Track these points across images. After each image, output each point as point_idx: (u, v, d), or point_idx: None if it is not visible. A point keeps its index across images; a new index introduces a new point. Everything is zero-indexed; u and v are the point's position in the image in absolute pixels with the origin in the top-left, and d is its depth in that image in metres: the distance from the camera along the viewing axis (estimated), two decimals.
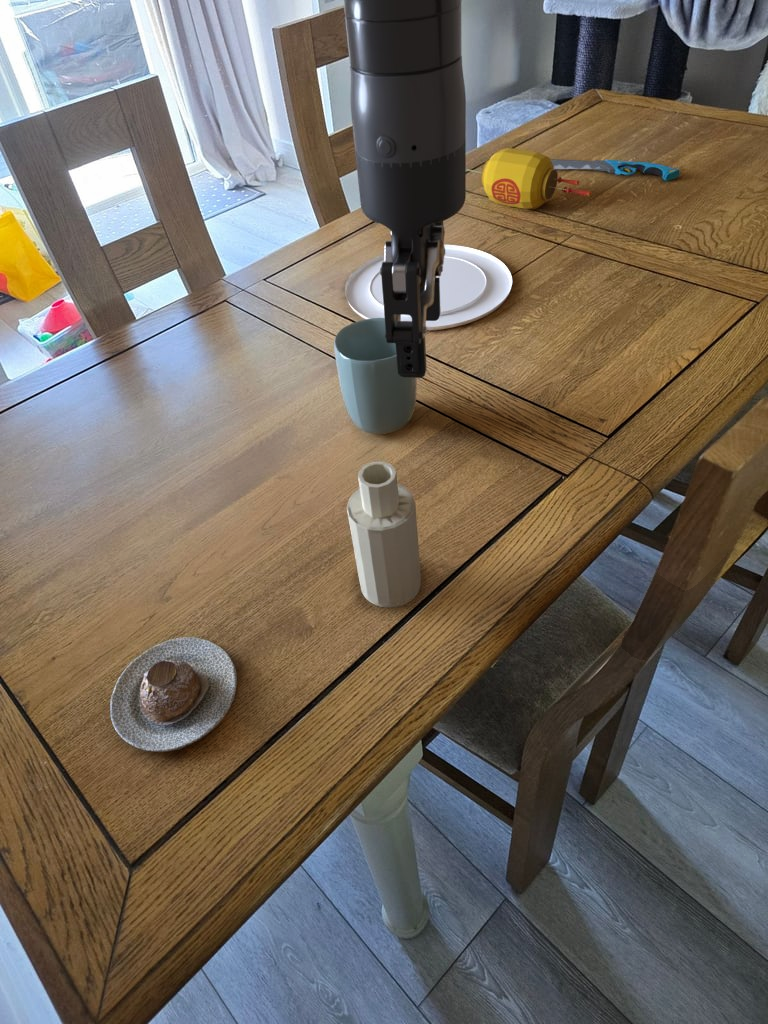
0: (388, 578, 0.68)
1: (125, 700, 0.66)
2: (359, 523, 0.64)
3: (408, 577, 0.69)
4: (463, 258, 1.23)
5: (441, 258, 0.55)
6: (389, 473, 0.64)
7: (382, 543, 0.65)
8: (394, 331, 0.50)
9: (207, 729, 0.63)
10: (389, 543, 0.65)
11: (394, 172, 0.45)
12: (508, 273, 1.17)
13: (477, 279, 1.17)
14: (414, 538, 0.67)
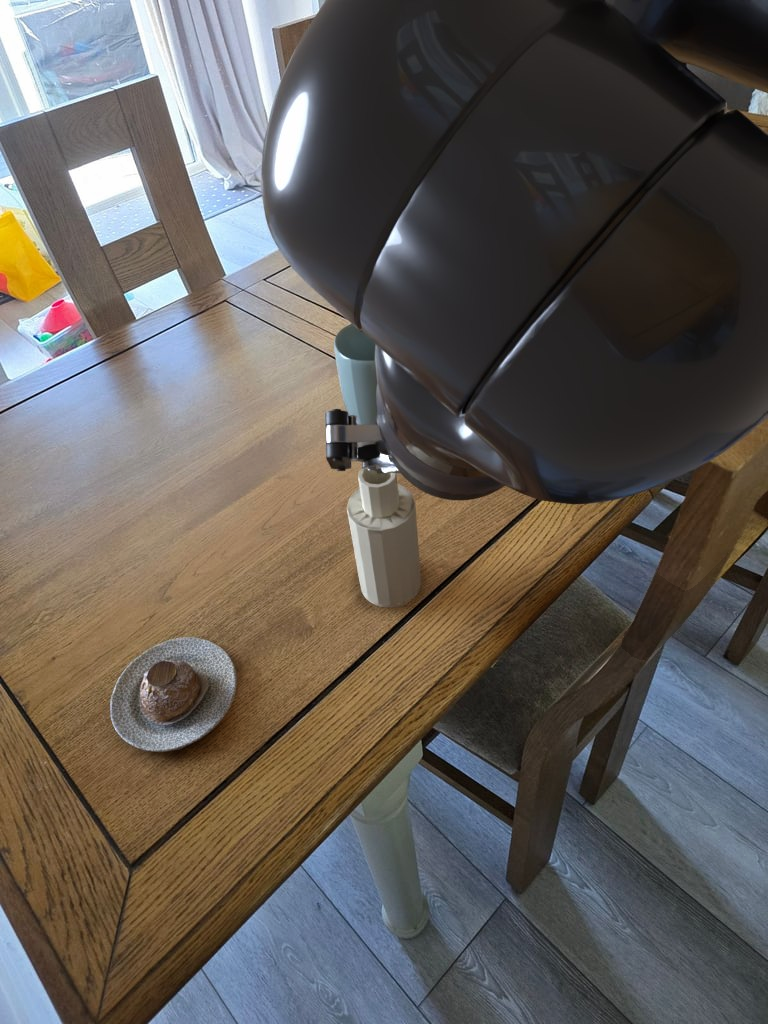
0: (388, 578, 0.68)
1: (125, 700, 0.66)
2: (359, 523, 0.64)
3: (408, 577, 0.69)
4: None
5: None
6: (389, 473, 0.64)
7: (382, 543, 0.65)
8: None
9: (207, 729, 0.63)
10: (389, 543, 0.65)
11: None
12: None
13: None
14: (414, 538, 0.67)
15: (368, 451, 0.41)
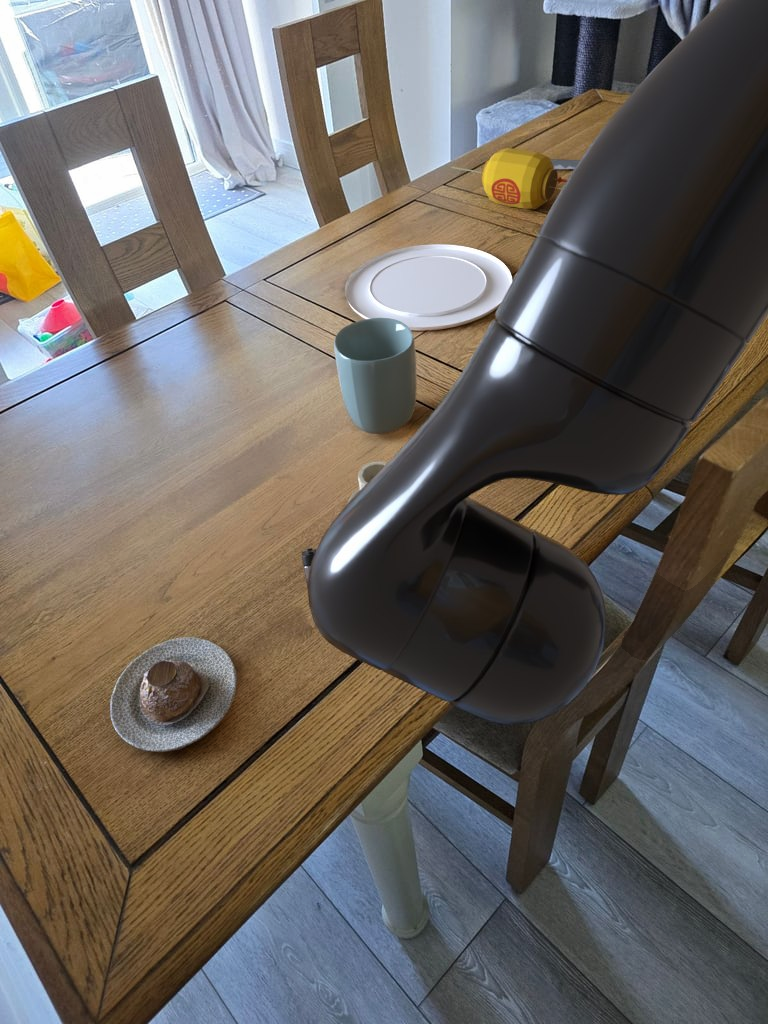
0: None
1: (125, 700, 0.66)
2: None
3: None
4: (463, 258, 1.23)
5: None
6: None
7: None
8: None
9: (207, 729, 0.63)
10: None
11: None
12: (508, 273, 1.17)
13: (477, 279, 1.16)
14: None
15: None
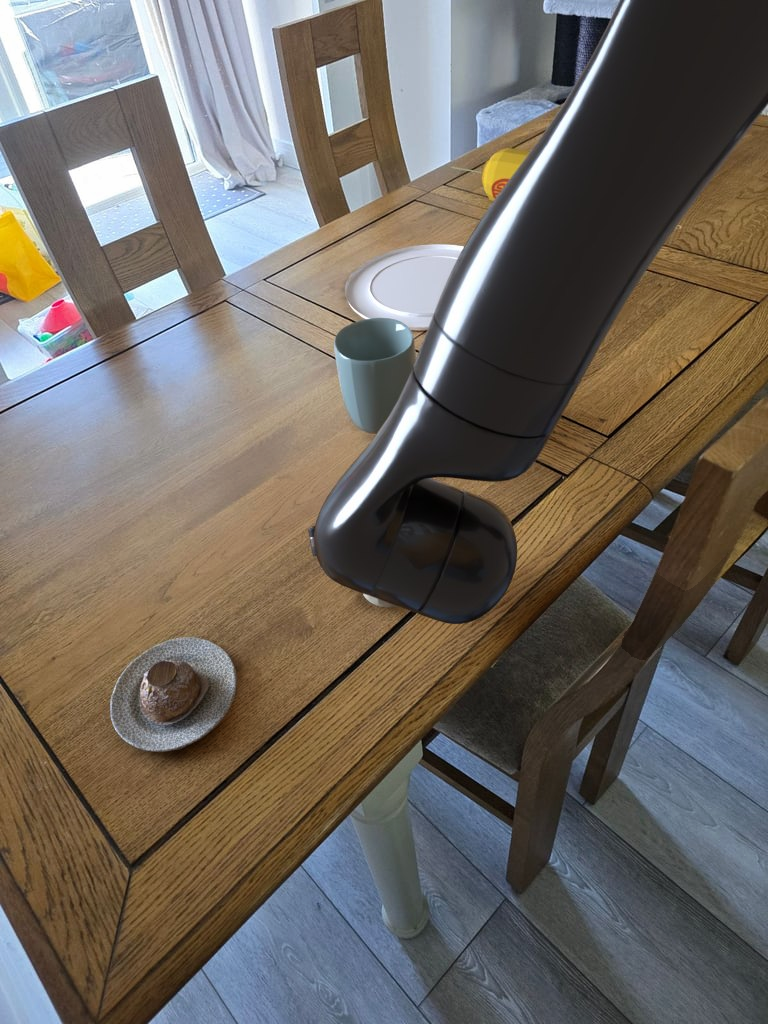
0: None
1: (125, 700, 0.66)
2: None
3: None
4: None
5: None
6: None
7: None
8: None
9: (207, 729, 0.63)
10: None
11: None
12: None
13: None
14: None
15: None
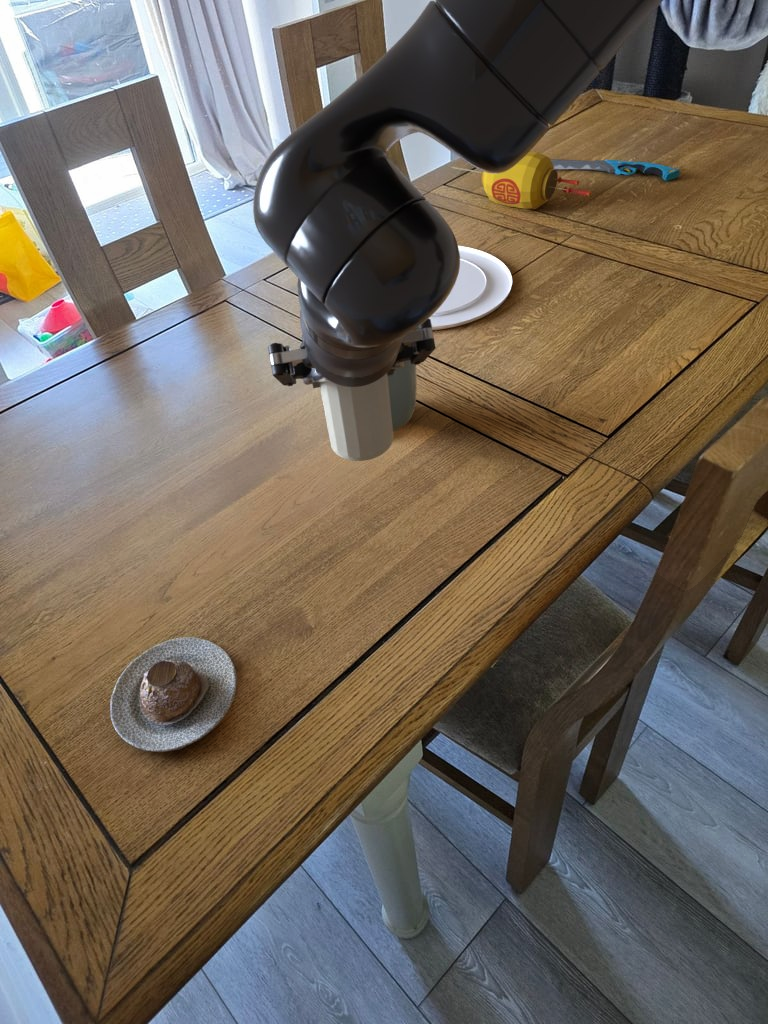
0: (357, 422, 0.65)
1: (125, 700, 0.66)
2: None
3: (378, 423, 0.67)
4: (463, 258, 1.23)
5: None
6: None
7: None
8: None
9: (207, 729, 0.63)
10: None
11: None
12: (508, 273, 1.17)
13: (477, 279, 1.17)
14: (383, 376, 0.64)
15: (305, 370, 0.62)
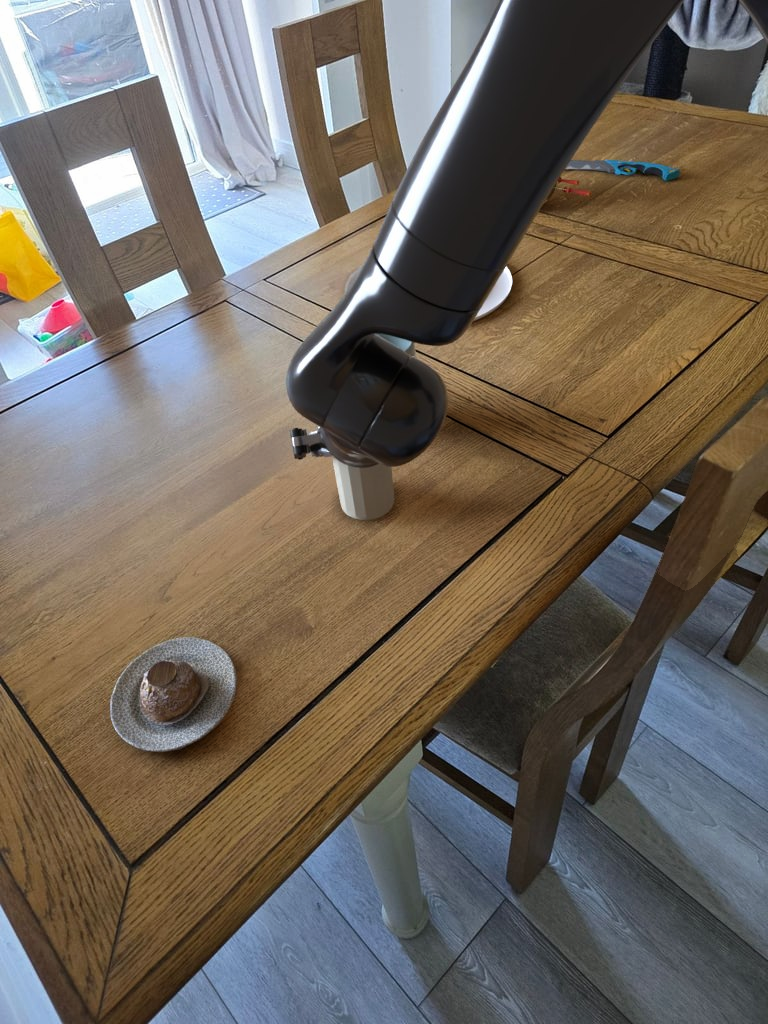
0: (363, 490, 0.77)
1: (125, 700, 0.66)
2: None
3: (381, 490, 0.78)
4: None
5: None
6: None
7: None
8: None
9: (207, 729, 0.63)
10: None
11: None
12: (508, 273, 1.17)
13: None
14: None
15: (314, 446, 0.73)
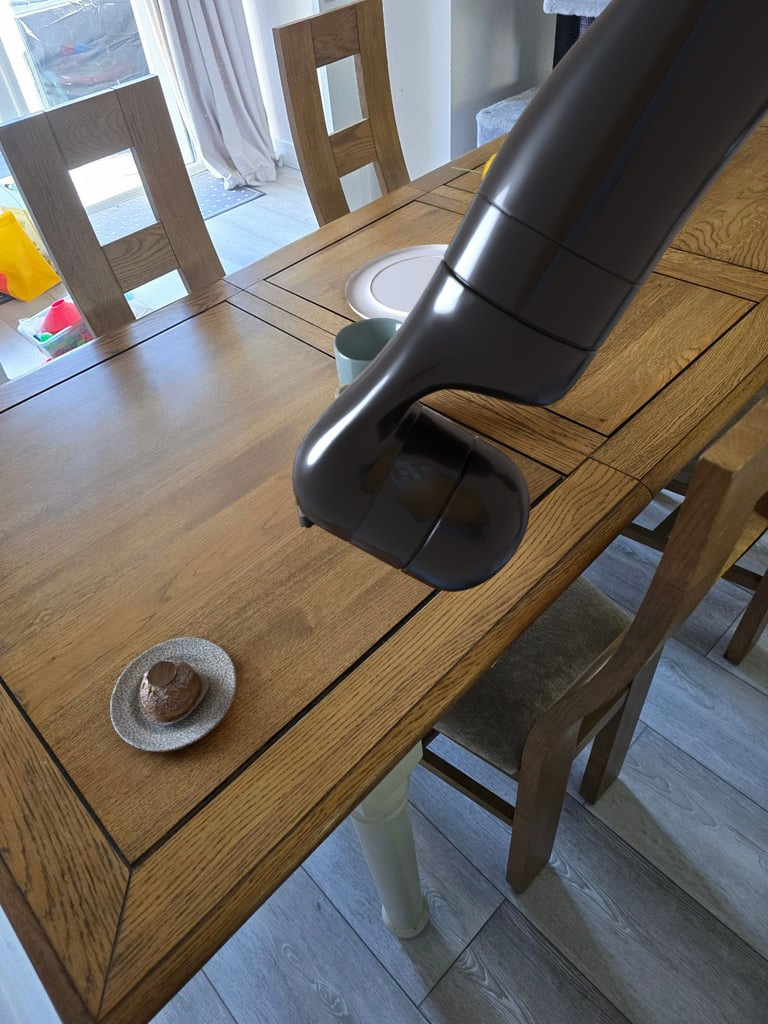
0: None
1: (125, 700, 0.66)
2: None
3: None
4: None
5: None
6: None
7: None
8: None
9: (207, 729, 0.63)
10: None
11: None
12: None
13: None
14: None
15: None
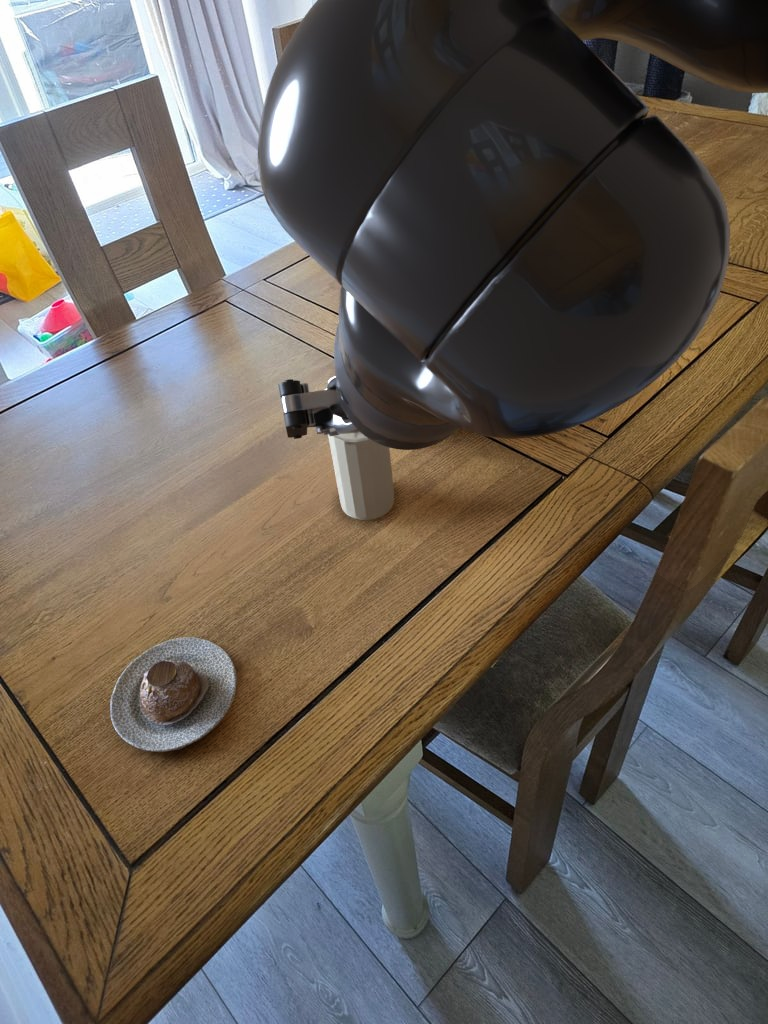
0: (363, 490, 0.77)
1: (125, 700, 0.66)
2: (336, 436, 0.73)
3: (381, 490, 0.78)
4: None
5: None
6: None
7: (357, 454, 0.74)
8: None
9: (207, 729, 0.63)
10: (363, 455, 0.74)
11: None
12: None
13: None
14: (386, 453, 0.76)
15: (320, 416, 0.43)
